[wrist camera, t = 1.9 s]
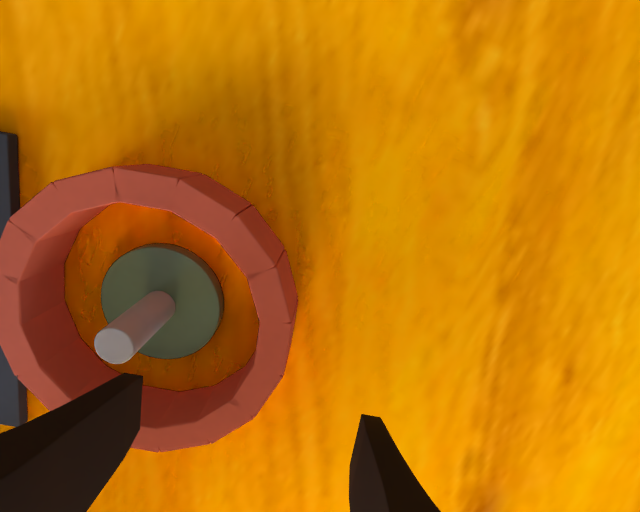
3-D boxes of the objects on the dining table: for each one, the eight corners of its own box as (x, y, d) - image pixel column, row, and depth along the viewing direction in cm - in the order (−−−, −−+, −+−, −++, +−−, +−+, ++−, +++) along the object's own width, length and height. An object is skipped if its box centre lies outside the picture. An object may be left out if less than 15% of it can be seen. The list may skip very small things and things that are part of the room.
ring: (276, 429, 22) (267, 471, 19) (41, 388, 22) (-4, 425, 19) (315, 192, 19) (311, 201, 16) (34, 144, 18) (-21, 143, 16)
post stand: (218, 360, 21) (183, 423, 16) (107, 341, 21) (40, 398, 16) (230, 254, 20) (194, 288, 15) (110, 233, 19) (36, 261, 15)
